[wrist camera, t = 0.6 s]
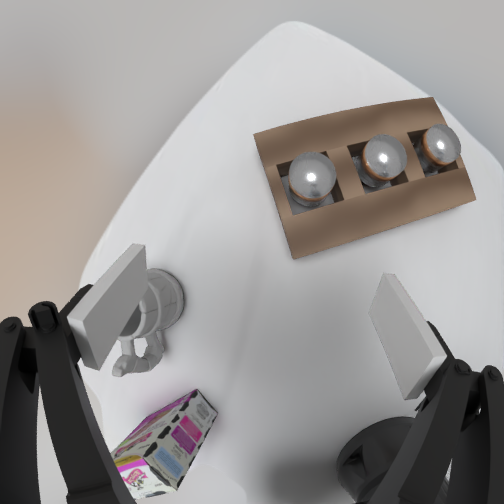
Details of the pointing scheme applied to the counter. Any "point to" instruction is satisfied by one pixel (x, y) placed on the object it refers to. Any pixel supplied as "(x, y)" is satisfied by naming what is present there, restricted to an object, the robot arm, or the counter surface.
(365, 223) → the wooden candle holder
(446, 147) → the knob
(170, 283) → the mug
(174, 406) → the candy bar box
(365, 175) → the knob
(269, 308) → the counter surface
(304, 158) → the knob
